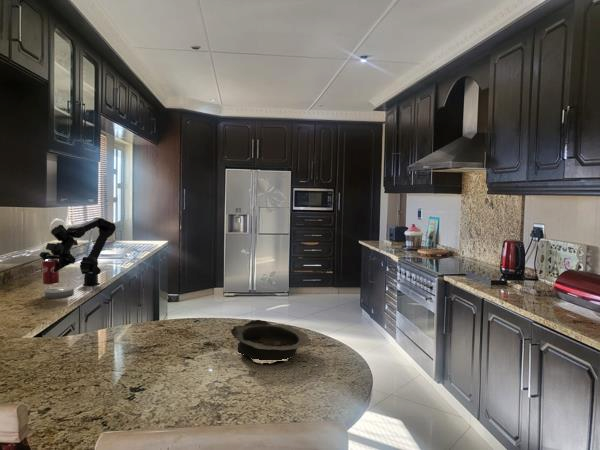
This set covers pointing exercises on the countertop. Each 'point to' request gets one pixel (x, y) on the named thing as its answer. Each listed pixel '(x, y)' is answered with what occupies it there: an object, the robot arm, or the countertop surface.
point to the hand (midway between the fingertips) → (48, 271)
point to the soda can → (50, 272)
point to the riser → (59, 292)
